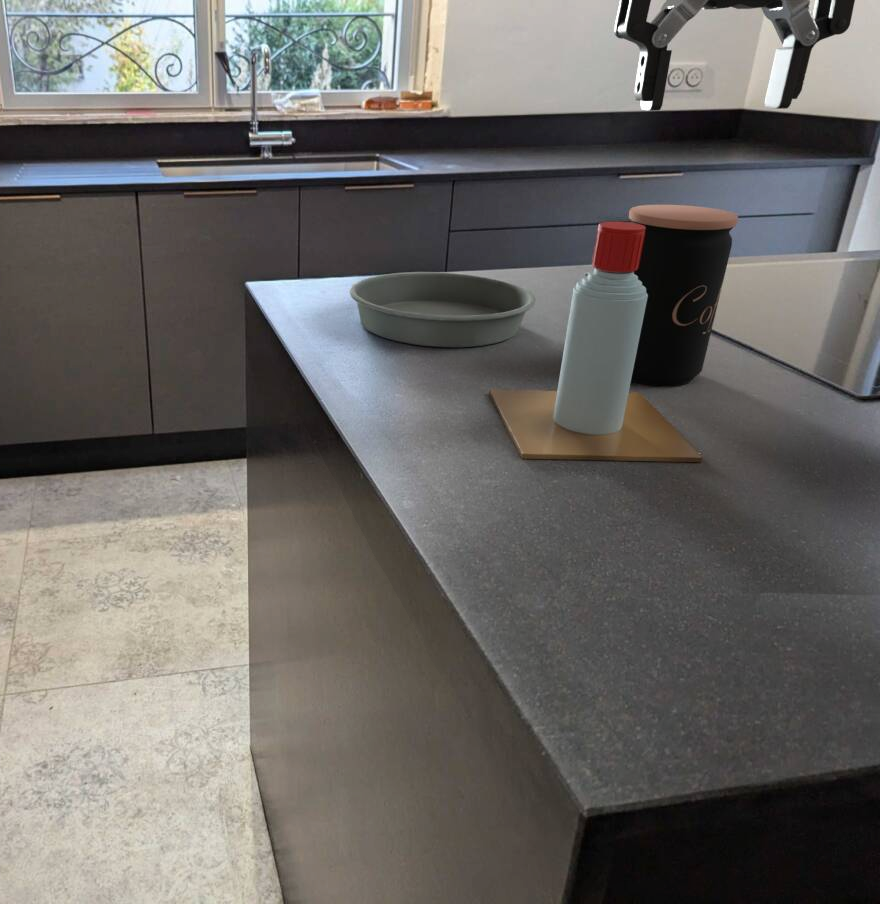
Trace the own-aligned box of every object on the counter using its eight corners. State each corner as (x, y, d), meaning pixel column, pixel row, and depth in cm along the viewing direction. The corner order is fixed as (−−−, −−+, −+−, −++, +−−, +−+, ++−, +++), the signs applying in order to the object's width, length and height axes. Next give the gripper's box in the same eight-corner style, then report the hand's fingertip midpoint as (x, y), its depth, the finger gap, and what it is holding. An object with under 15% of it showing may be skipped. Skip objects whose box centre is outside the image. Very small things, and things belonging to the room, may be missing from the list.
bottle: (609, 409, 84) (644, 224, 76) (631, 435, 78) (672, 237, 70) (545, 408, 84) (574, 223, 76) (563, 434, 78) (595, 236, 70)
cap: (629, 262, 76) (636, 221, 74) (644, 272, 72) (653, 230, 71) (585, 262, 76) (592, 221, 75) (599, 272, 73) (606, 229, 71)
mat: (638, 396, 88) (639, 392, 88) (701, 462, 74) (702, 457, 74) (488, 394, 89) (489, 389, 89) (521, 458, 74) (522, 453, 74)
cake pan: (564, 323, 113) (569, 290, 111) (467, 366, 97) (471, 329, 95) (416, 291, 128) (418, 262, 126) (311, 324, 112) (312, 291, 110)
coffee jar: (666, 395, 89) (704, 224, 81) (582, 368, 96) (609, 210, 89) (718, 375, 94) (758, 214, 87) (634, 351, 102) (664, 201, 94)
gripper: (854, -169, 53) (789, 105, 60) (629, -164, 53) (591, 107, 60) (934, -202, 46) (850, 111, 53) (675, -196, 46) (626, 113, 53)
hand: (712, 109), depth 57 cm, fingers open, 8 cm apart
